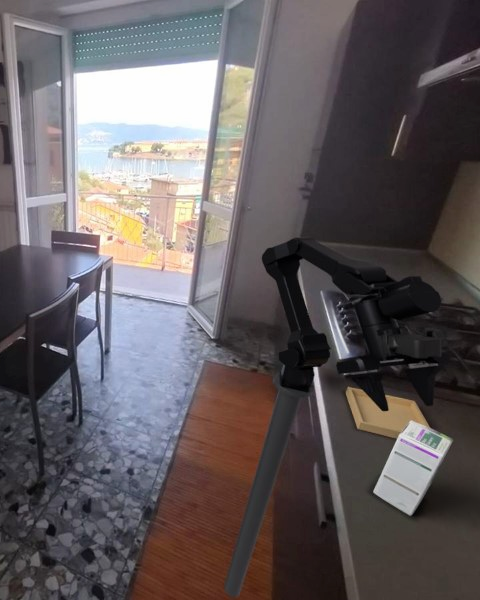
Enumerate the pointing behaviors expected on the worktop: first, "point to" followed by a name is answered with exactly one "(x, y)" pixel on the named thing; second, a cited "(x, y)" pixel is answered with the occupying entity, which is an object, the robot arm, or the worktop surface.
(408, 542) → the worktop surface
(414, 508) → the syrup box
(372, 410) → the tray
